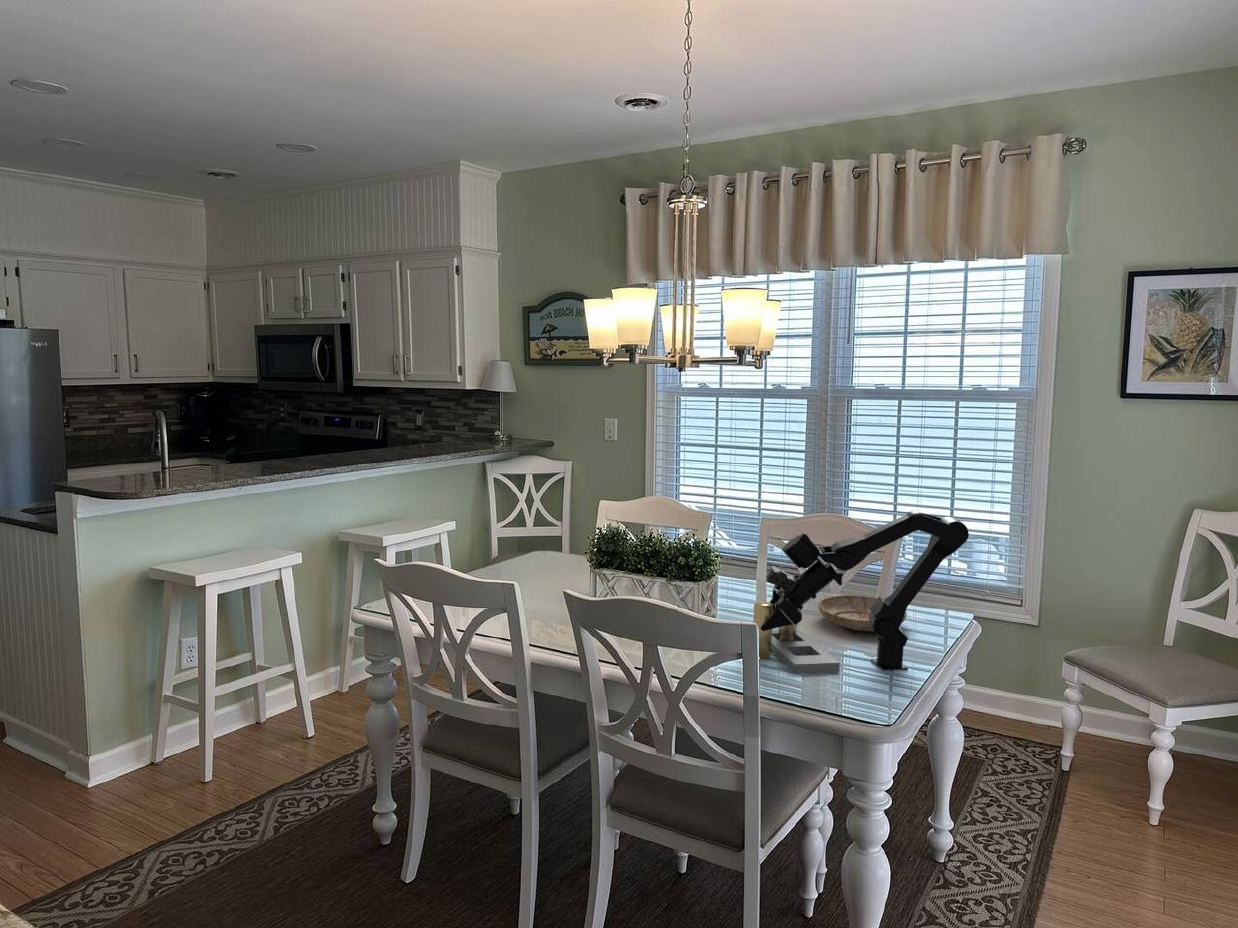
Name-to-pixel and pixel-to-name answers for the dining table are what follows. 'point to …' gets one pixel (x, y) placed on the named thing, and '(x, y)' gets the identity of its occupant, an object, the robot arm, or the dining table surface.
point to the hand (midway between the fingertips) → (760, 623)
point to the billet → (787, 633)
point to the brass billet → (765, 637)
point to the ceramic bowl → (849, 611)
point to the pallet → (803, 645)
